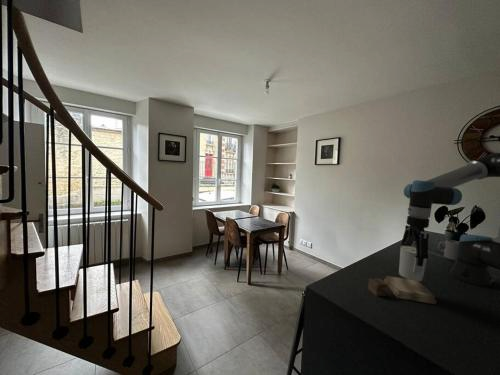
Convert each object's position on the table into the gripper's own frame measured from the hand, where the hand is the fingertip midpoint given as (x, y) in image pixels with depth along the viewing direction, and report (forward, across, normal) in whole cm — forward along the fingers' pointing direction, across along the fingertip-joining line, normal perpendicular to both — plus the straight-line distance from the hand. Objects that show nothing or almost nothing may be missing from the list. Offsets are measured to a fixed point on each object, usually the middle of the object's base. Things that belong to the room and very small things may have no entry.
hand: (410, 267), depth 95 cm
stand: (+11, 0, 0) cm, 11 cm away
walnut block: (+11, +5, -14) cm, 19 cm away
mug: (+11, -59, +50) cm, 78 cm away
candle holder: (+4, 0, 0) cm, 4 cm away
